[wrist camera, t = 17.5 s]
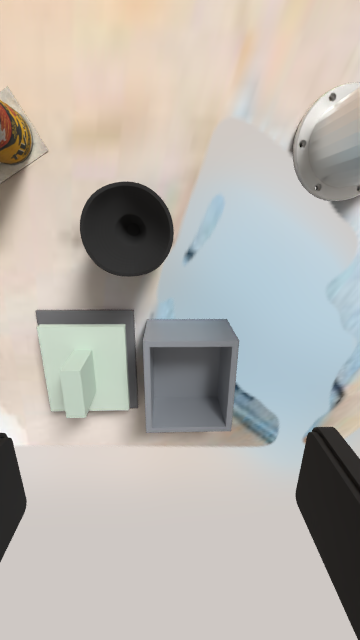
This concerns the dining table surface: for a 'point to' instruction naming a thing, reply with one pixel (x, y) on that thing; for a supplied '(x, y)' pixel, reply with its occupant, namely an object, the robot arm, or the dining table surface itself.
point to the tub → (189, 374)
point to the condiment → (16, 137)
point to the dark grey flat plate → (101, 318)
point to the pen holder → (126, 229)
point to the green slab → (85, 367)
